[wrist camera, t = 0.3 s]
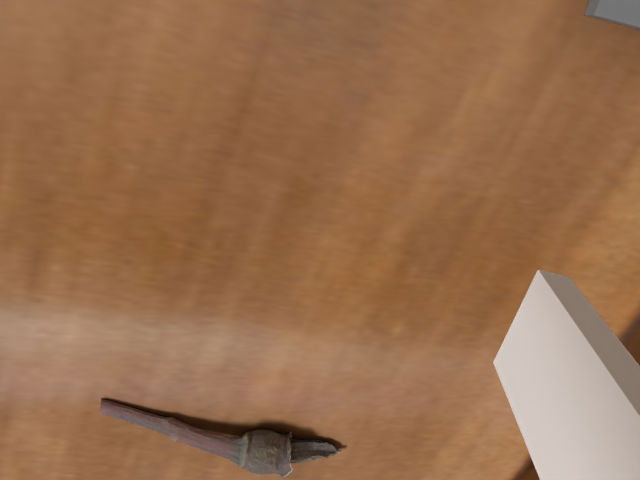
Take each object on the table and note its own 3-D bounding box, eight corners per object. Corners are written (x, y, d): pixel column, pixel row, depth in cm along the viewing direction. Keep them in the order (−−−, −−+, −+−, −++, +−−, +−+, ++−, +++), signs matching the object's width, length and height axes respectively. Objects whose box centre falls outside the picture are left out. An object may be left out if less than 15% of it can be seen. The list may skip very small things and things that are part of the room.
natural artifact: (334, 445, 52) (329, 490, 49) (102, 399, 49) (86, 444, 46) (345, 438, 48) (340, 486, 46) (97, 388, 45) (79, 436, 43)
